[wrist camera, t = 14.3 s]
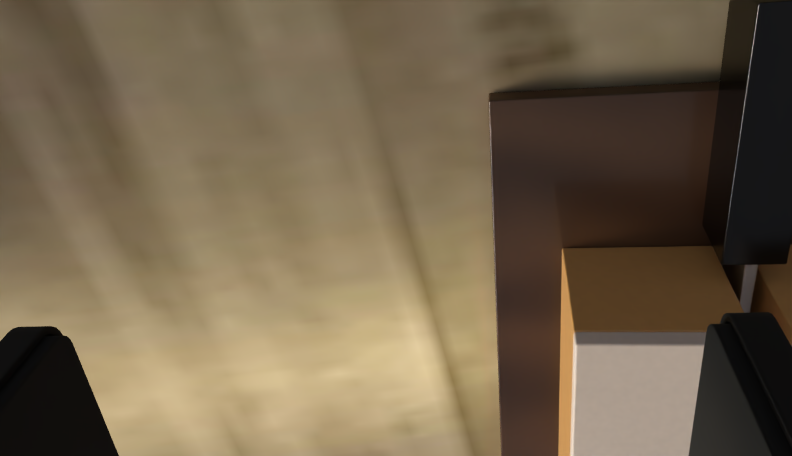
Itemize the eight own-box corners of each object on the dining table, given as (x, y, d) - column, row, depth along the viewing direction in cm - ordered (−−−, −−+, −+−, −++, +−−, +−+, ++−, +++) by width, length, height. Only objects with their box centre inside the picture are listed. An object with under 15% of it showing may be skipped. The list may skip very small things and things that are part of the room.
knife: (731, -18, 26) (758, 3, 23) (803, -23, 25) (839, -3, 23) (672, 459, 38) (686, 510, 35) (721, 460, 37) (739, 512, 34)
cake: (561, 247, 32) (574, 344, 26) (907, 241, 30) (1005, 346, 24) (557, 469, 39) (567, 585, 33) (839, 478, 37) (903, 604, 31)
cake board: (489, 92, 30) (488, 101, 29) (1029, 65, 27) (1047, 73, 26) (502, 466, 41) (502, 480, 40) (890, 478, 38) (898, 493, 37)
